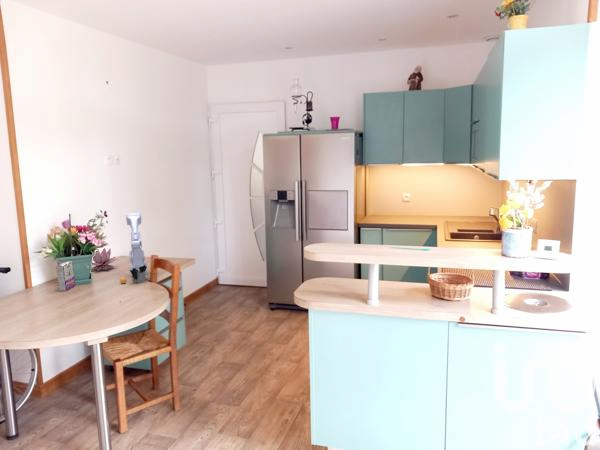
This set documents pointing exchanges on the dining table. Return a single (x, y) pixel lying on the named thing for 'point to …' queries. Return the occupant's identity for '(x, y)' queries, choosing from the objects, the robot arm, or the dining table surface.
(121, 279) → the ball
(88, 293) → the dining table surface
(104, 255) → the decorative flower
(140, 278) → the grey cube
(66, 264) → the candy bar box
